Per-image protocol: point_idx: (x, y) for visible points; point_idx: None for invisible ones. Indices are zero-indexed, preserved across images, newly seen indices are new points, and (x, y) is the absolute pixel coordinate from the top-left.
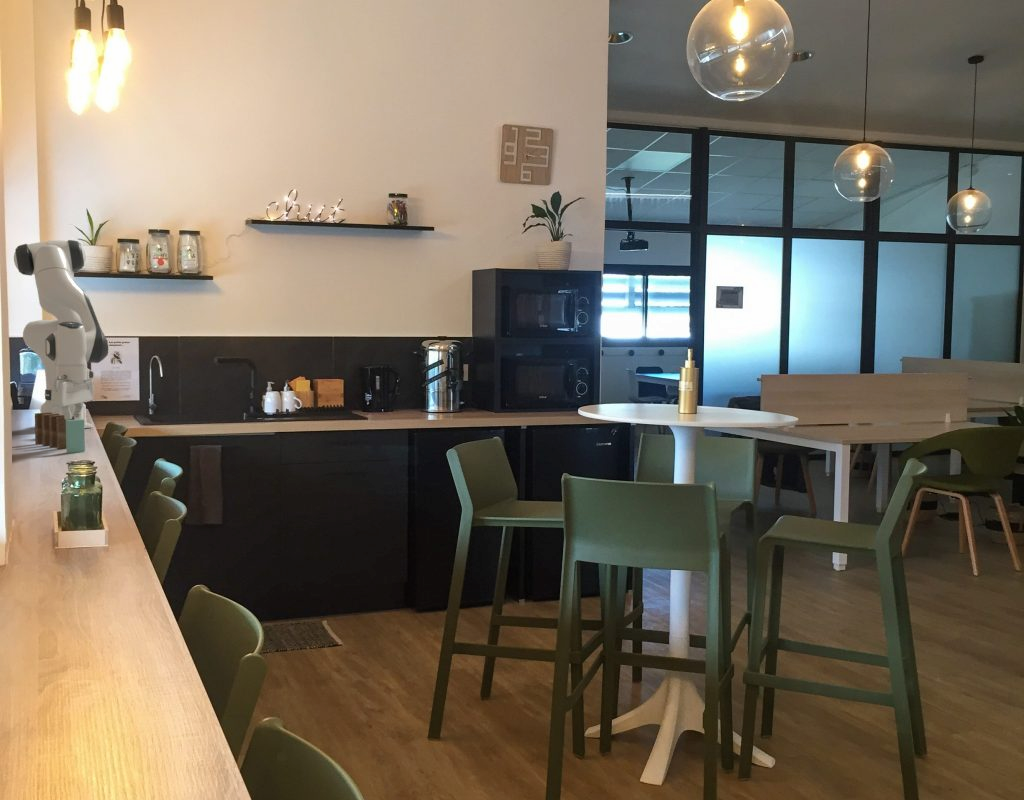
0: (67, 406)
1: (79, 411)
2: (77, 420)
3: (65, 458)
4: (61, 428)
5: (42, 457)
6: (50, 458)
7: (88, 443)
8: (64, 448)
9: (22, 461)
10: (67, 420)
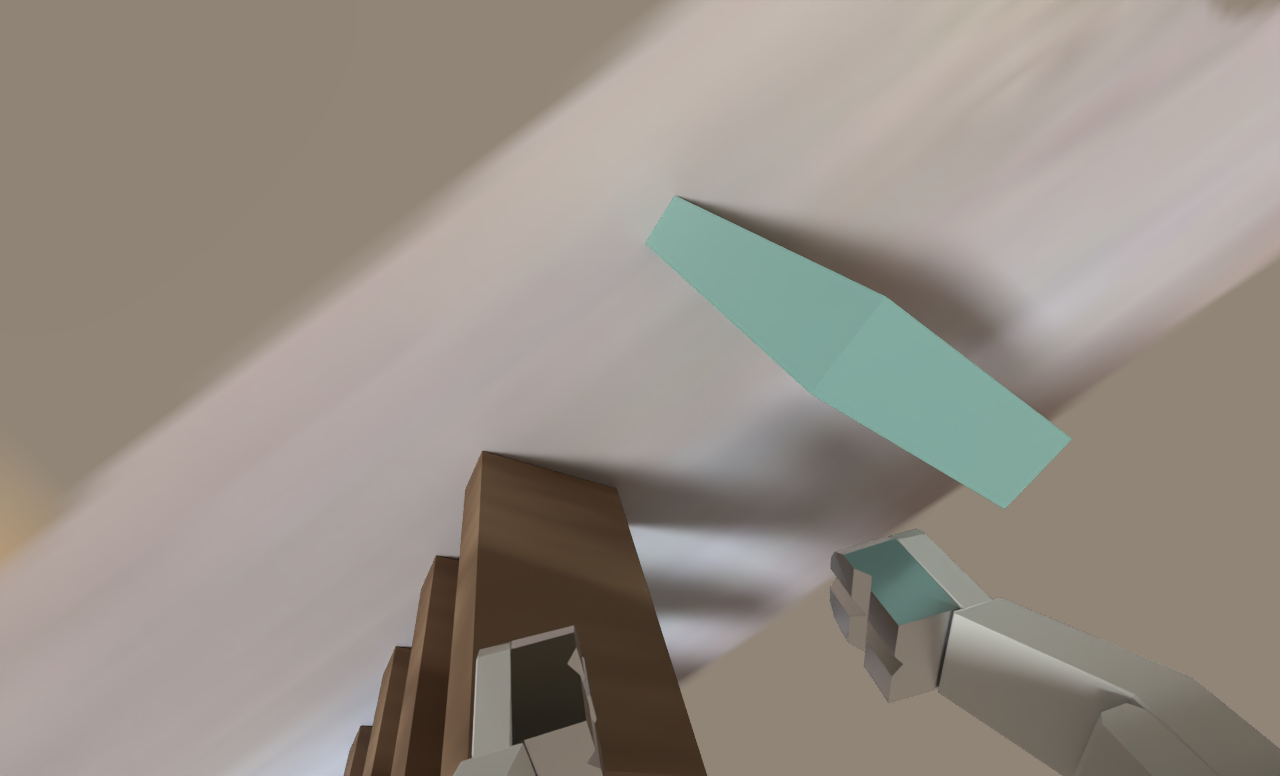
0: (1262, 760)
1: (526, 760)
2: (970, 361)
3: (1070, 106)
4: (637, 633)
5: (1014, 323)
6: (1062, 233)
7: (176, 525)
8: (576, 479)
9: (1171, 325)
10: (1016, 480)
